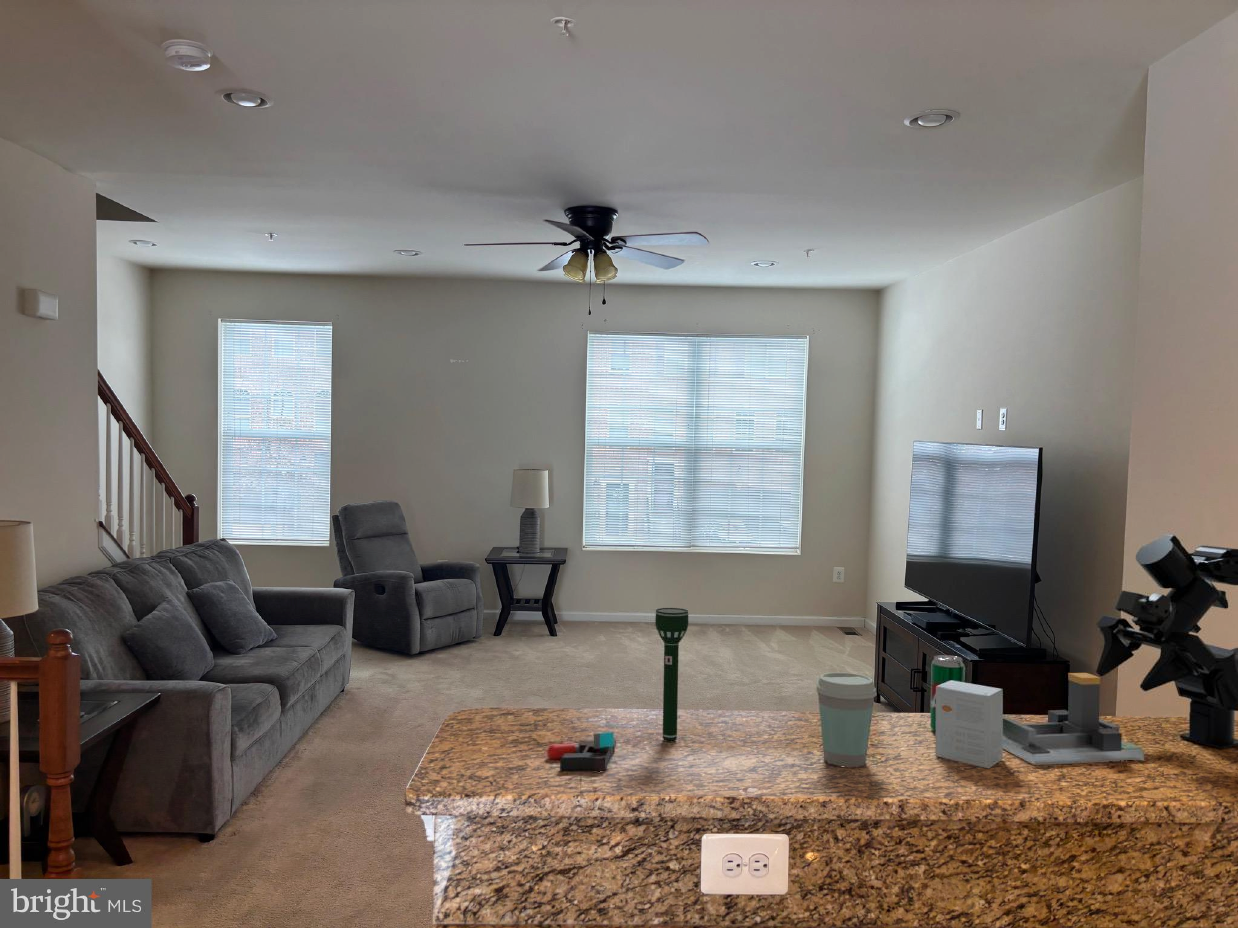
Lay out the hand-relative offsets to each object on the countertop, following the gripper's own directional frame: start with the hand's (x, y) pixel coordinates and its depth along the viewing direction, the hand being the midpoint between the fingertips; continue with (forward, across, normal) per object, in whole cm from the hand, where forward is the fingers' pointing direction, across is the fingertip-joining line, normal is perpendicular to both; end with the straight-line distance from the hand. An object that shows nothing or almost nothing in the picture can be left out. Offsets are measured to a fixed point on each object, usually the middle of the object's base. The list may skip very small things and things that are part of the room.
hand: (1119, 681), depth 136 cm
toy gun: (+66, -5, -53) cm, 85 cm away
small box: (+26, +2, -12) cm, 29 cm away
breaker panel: (+14, 0, 0) cm, 14 cm away
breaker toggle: (+10, 0, +1) cm, 10 cm away
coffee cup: (+39, +1, -26) cm, 47 cm away
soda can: (+24, -10, -10) cm, 27 cm away
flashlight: (+56, -11, -42) cm, 71 cm away
